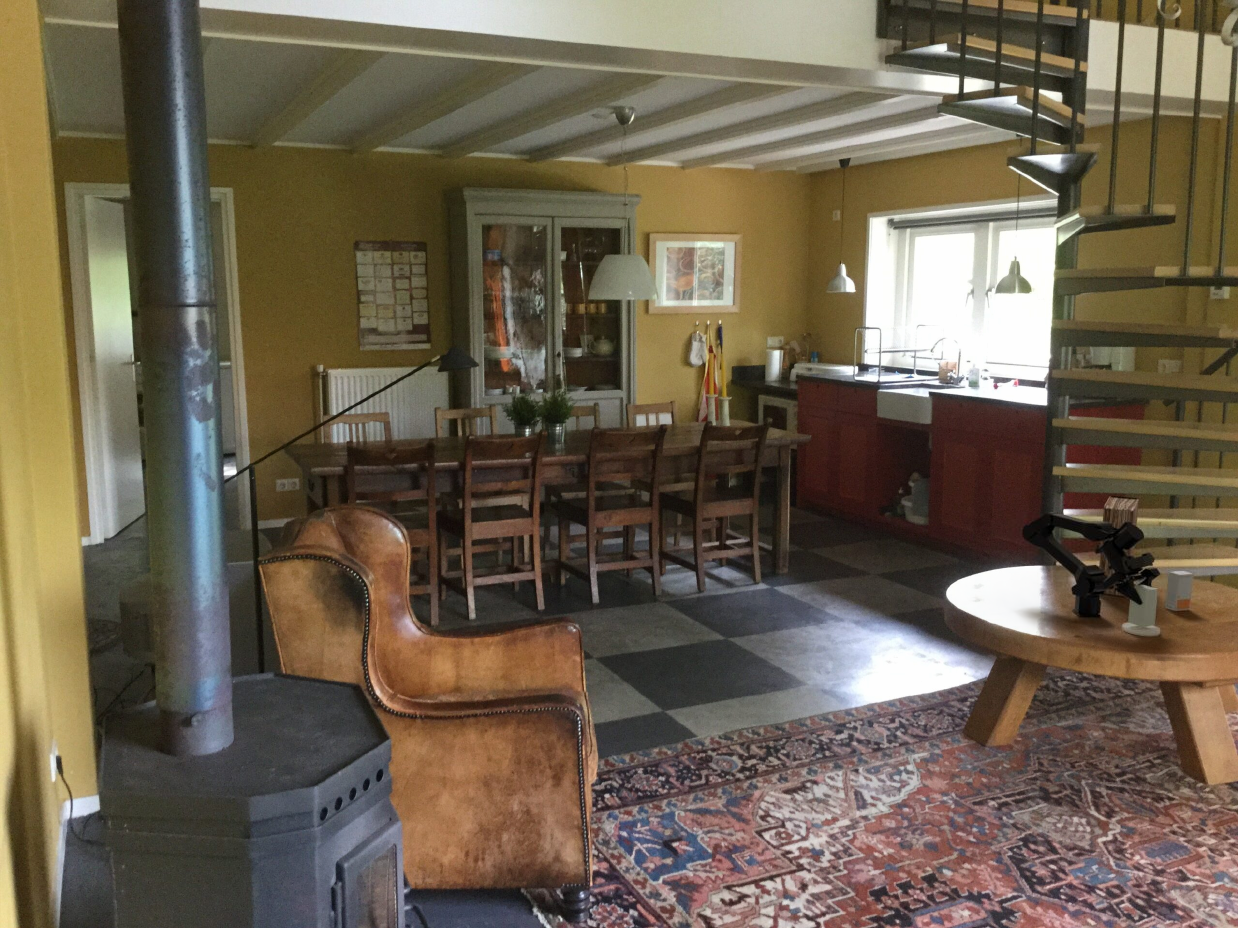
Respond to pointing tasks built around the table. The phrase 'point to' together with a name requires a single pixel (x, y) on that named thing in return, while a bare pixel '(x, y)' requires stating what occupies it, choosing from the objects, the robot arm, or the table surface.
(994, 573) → the table surface
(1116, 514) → the brown striped upright block
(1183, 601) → the skincare box
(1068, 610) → the table surface
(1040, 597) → the table surface
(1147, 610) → the sage block
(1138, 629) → the coaster
